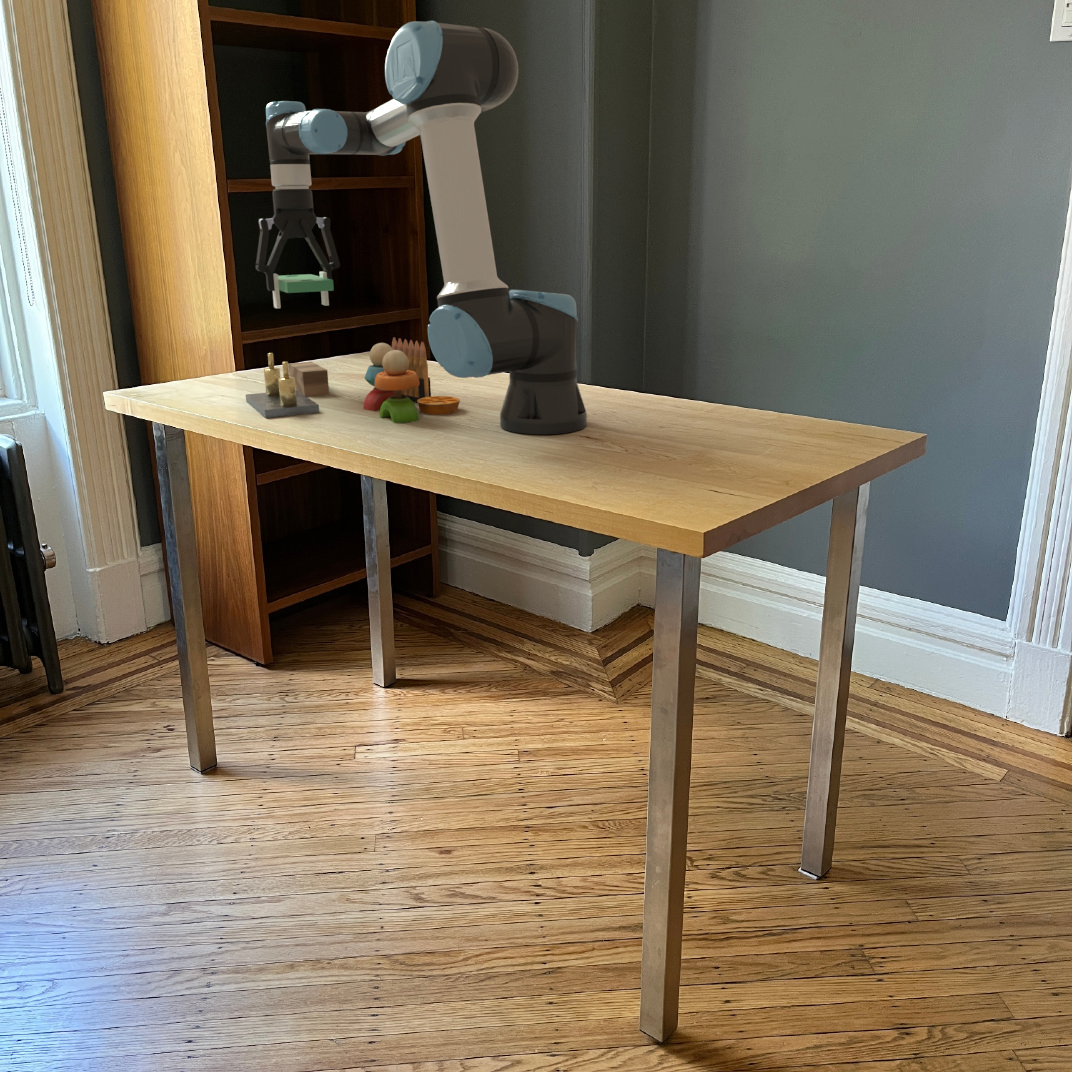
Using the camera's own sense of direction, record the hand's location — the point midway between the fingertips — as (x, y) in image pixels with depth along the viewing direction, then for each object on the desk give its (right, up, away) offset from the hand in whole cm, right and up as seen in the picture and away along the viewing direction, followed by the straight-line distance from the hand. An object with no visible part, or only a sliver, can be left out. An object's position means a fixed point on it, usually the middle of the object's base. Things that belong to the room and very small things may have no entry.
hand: (301, 306), depth 209 cm
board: (0, +3, -1) cm, 4 cm away
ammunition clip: (+22, -20, -4) cm, 30 cm away
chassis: (-2, -21, -9) cm, 23 cm away
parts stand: (0, -16, +6) cm, 17 cm away
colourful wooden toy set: (+23, -23, -13) cm, 35 cm away
